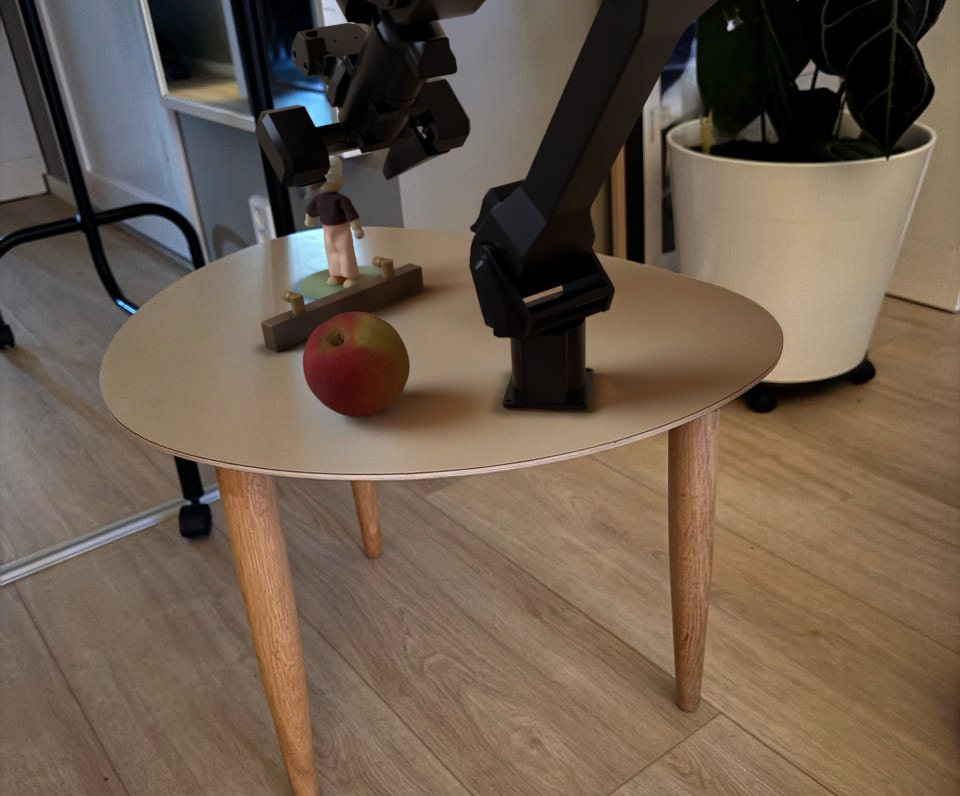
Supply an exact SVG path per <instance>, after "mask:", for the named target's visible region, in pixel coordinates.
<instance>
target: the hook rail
mask: <svg viewBox="0 0 960 796" xmlns="http://www.w3.org/2000/svg"><path fill="white" fill-rule="evenodd" d="M371 264H372V266H374V267H370V266H364V265H358V270H359V274H364V275H365V276H366V277H367V278H368V280H366V281H363V282H361V283H358V284H356V285H353V286H351V287H348V288H345V287H344V286H343V285H344V283H342V284H340V285H335V286H332V285H328V284H327V281H328V279H329V278H330V277H331V275H330V273H329V268H328V269H324V270H320V271H317V272H315V273H312V274H309V275H308V276H307V277H305V278H303V279H302V280H301V281H300V283H299V285H298V288H299V292H295V291H291V290H288V289H286V290H284V291H282V292H281V294H280V297H281V300H283V301H284V302H286V303H289V304H290V307H291V309H289V310H287V311H284V312H282V313H280V314H277V315H275V316H273V317H269V318H267V319H265V320H262V321H260V325H261V330H262V335H263V340H264V345H265V348H267V349H269V350H271V351H274V352H276V353H279V352H281V351H283V350H286V349H288V348H291V347H293V346H295V345H297V344H300V343H303V342H305V341H308V339H309V337H310V335H311V334H312V333H313V331H314V330H315V329H316V328H317V327H318V326H320V325H321V324H323V323H324V322H326V321H327V320H329V319H331V318H332V317H334V316H336V315H338V314H342V313H347V312H366V313H370V314H372V313H373V312H375V311H376V312H377V311H378V310H381V309H383V308H385V307H388V306H391V305H393V304H395V303H397V302H400V301H401V300H404V299H407V298H410V297H411V296H414V295H416V294H419V293H420V292H424V290H425V288H424V278H423V276H424V275H423V268H422V266H421V265H418V264H413V263H410V262H409V263H406V264H403V265H402V266H399V267H397V268H395V265H394V260H393V258H385V257H381V256H378V255H376V256H374V257H372V259H371ZM378 268H379V269H378ZM380 269H381V270H380ZM304 297H307V298H309V299H313V301H310V302H308V303H305V298H304Z"/></svg>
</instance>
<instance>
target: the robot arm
mask: <svg viewBox="0 0 960 796" xmlns="http://www.w3.org/2000/svg"><path fill="white" fill-rule="evenodd" d="M486 1H487V0H335V2H336V4H337V6H338V8H339V10H340V11H341V13H342V15H343V17H344V19H345V21H346V22H344V23H340V24H339V23H337V24H332V25H325V26H318V27H314V28H312V29H305V30H299V31H297V32H296V35H295V38H294V40H293V43H292V47H291V59H292V63H293V65H294V66H295V67H296V69H298V71H299V72H300V73H301V74H302V75H303V76H304V77H305V78H308V79H309V78H314V77H319V78H320V79H321V80H322V81H323V82H324V84H325V85H326V86H327V90H326V93H325V99H326V100H327V102H328V104H329V106H330V108H332V109H333V108H336V109H337V110H338V112H337V122H333V123H328V124H324V125H319V126H316V124H315V123H314V121H313V119H312V117H311V115H310V114H309V112H308V110H307V108H306V106H305V105H301V104H294V105H289V106H284V107H277V108H273V109H267V110H263V111H261V112H260V114H259V116H258V119H257V121H256V126H255V130H254V134H255V136H256V138H257V140H258V142H259V144H260V146H261V148H262V149H263V152H264V153H265V155H266V157H267V159H268V161H269V163H270V166H271V167H272V168H273V170H274V172H275V174H276V176H277V178H278V181H279V182H280V184H282V185H284V186H286V187H287V188H295V191H296V193H297V196H298V198H299V200H300V201H301V202H305V201H307V200H309V199H310V198H311V197H313V195H315V193H316V192H317V191H318V190H319V189H320V187H321V186H322V185H323V184H324V183H325V182H326V181H327V179H326V177H325V175H326V174H328V171H329V169H330V160H329V156H331V155H333V156H337V155H340V154H343V153H348V152H353V151H357V150H359V151H360V153H361V155H364V154H368V153H372V152H373V153H374V152H378V151H382V150H386V149H388V152H387V154H386V157H385V160H384V161H383V162H384V163H383V167H382V175H383V176H384V178H385V180H386V181H391V180H393V179H395V178H397V177H398V176H401V175H403V174H405V173H407V172H409V171H411V170H413V169H415V168H417V167H419V166H421V165H423V164H425V163H428V162H429V161H431V160H434V159H436V158H438V157H440V156H442V155H445V154H448V153H450V151H451V150H454V149H458V148H462V147H463V146H464V144H465V143H466V141H467V139H468V137H469V136H470V133H471V129H472V127H471V119H470V117H469V115H468V114H467V112H466V110H465V108H464V107H463V105H462V103H461V101H460V99H459V97H458V96H457V94H456V91H455V90H454V89H453V87H452V85H451V83H450V82H449V81H448V80H447V78H444V77H446V76H452V75H455V74H457V73H458V64H457V58H456V55H455V54H454V52H453V50H452V48H451V46H450V38H449V37H448V36H447V35H446V32H445V30H444V28H443V27H442V25H441V22H440V21H442V20H449V19H456V18H461V17H462V18H463V17H468V16H469V17H470V16H471V15H474V14H475V13H477V11H478V10H480V8H481V7H482V6H483V5H484V3H485V2H486ZM718 1H719V0H601V1H600V3H599V5H598V8H597V10H596V12H595V15H594V18H593V20H592V22H591V23H590V27H589V29H588V32H587V34H586V36H585V38H584V41H583V43H582V45H581V48H580V50H579V52H578V54H577V57H576V59H575V62H574V64H573V67H572V69H571V71H570V73H569V76H568V78H567V81H566V83H565V85H564V87H563V89H562V92H561V95H560V97H559V99H558V101H557V103H556V106H555V109H554V111H553V113H552V115H551V118H550V120H549V122H548V125H547V127H546V129H545V132H544V134H543V136H542V139H541V141H540V143H539V146H538V149H537V150H536V153H535V155H534V158H533V160H532V162H531V164H530V167H529V169H528V171H527V174H526V175H525V178H523V179H520V180H516V181H511V182H508V183H505V184H501V185H497V186H494V187H490V188H489V189H488V190H487V191H486V192H485V194H484V196H483V198H482V200H481V206H480V209H479V214H478V216H477V218H476V219H475V222H474V223H473V224H472V225H470V227H469V230H470V232H472V233H474V235H473V237H472V240H471V244H470V248H469V263H468V266H469V267H468V268H469V271H470V274H471V277H472V282H473V286H474V291H475V294H476V297H477V301H478V304H479V309H480V312H481V315H482V318H483V322H484V325H485V326H486V327H489V328H491V329H492V335H493V336H494V337H496V338H498V339H509V340H510V341H509V342H510V358H511V359H510V360H511V375H510V377H509V381H508V383H507V386H506V389H505V392H504V396H503V399H502V407H503V408H504V409H508V410H510V409H511V410H514V409H515V410H539V411H541V410H545V411H546V410H548V411H579V412H580V411H585V410H586V411H587V410H588V409H589V405H590V399H591V393H592V387H593V382H594V377H595V376H594V375H595V370H594V369H593V368H592V367H587V350H586V348H587V345H586V343H587V341H586V340H587V339H586V335H587V334H586V333H587V331H586V327H587V326H586V323H587V322H586V321H587V320H586V318H589V317H591V316H593V315H598V314H599V313H606V312H609V311H610V309H611V306H612V302H613V300H614V296H615V293H616V288H615V285H614V284H613V282H612V280H611V278H610V276H609V275H608V273H607V271H606V270H605V268H604V266H603V264H602V263H601V261H600V259H599V257H598V256H597V253H596V251H595V250H594V248H593V246H594V244H595V241H596V236H597V232H596V226H595V223H594V217H593V214H592V213H593V212H592V207H593V204H594V203H595V201H596V199H597V197H598V195H599V193H600V191H601V190H602V187H603V185H604V183H605V182H606V180H607V178H608V176H609V174H610V172H611V170H612V168H613V167H614V165H615V163H616V161H617V159H618V157H619V155H620V153H621V151H622V149H623V148H624V146H625V144H626V142H627V140H628V138H629V136H630V134H631V132H632V130H633V128H634V127H635V125H636V122H637V121H638V119H639V117H640V116H641V113H642V112H643V109H644V107H645V105H646V103H647V102H648V100H649V98H650V96H651V94H652V92H653V91H654V88H655V87H656V84H657V83H658V81H659V79H660V77H661V75H662V74H663V71H664V69H665V67H666V65H667V63H668V62H669V60H670V58H671V56H672V54H673V52H674V50H675V48H676V46H677V44H678V42H679V41H680V39H681V38H682V35H683V34H684V33H685V32H686V30H687V28H688V27H689V26H690V25H691V24H692V23H694V21H696V20H697V19H699V18H700V17H701V16H702V15H703V14H704V13H705V12H707V10H709V9H710V8H711V7H713V6H714V4H716V3H717V2H718ZM361 25H365V26H368V27H367V29H366V30H365V29H364V28H363V27H362V26H361ZM559 287H562V289H561V290H558V291H556V292H552V293H549V294H546V295H544V296H540V297H538V298H534V299H532V300H529V301H526V302H525V300H524V299H527V298H530V297H532V296H535V295H538V294H542V293H545V292H548V291H551V290H553V289H556V288H559Z"/></svg>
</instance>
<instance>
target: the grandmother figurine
mask: <svg viewBox="0 0 960 796" xmlns="http://www.w3.org/2000/svg"><path fill="white" fill-rule="evenodd" d="M329 160H330V169H329V171H328V174H326V175H325V177H326V179H327V181H326V182H325V183H324V184H323V185H322V186H321V187H320V188H319V189H320V190H321V191H322V192H320V193H317V194H315V196H312V198H311V199H310V200H309V202H308V203H307V205H306V207H305V208H304V210H305V220H304V225H305V226H306V227H307V228H309V229H311V228H314V227H315V225H316V219H317V218H318V217H319V222H320V224H321V226H322V230H323V231H322V232H323V243H324V252H325V256H326V261H327V266H328V269H329V273H330V275H331V277H330V278H329V279H328V281H327V284H328V285H332V286H335V285H340V284H342V283H344V285H343V286H344V287H345V288H348V287H351V286H353V285H356V284H358V283H361V282H363V281H366V280H368V278H367V277H366V276H365V275H364V274H359V270H358V266H359V265H358V262H357V256H356V251H355V245H354V238H355V239H356V240H362V239H364V238H365V235H366V233H365V230H364V229H363V225H362V223H361V218H360V215H359V213H358V211H357V209H356V207H355V206H354V204H353V202H352V200H351V198H349V197H348V196H346V195H344V194H342V193H341V192H339V191H340V190H341V189H342V187H343V185H344V176H343V173H342V171H343V163H342V160H341V159H340V156H339V157H338V156H337V155H331V156H329ZM352 231H353V232H352ZM353 237H354V238H353Z"/></svg>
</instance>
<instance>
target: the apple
mask: <svg viewBox="0 0 960 796" xmlns="http://www.w3.org/2000/svg"><path fill="white" fill-rule="evenodd" d="M410 365H411V363H410V355H409V353H408V350H407V347H406V345H405V343H404V340H403V339H402V337H401V336H400V334H399V332H398V331H397V330H396V329H395V328H394V326H393V325H391V324H390V323H389V322H387V321H386V320H385V319H383V318H381V317H379V316H377V315H374V314H372V313H366V312H347V313H342V314H338V315H336V316H334V317H332V318H331V319H329V320H327V321H326V322H324V323H323V324H321V325H320V326H318V327H317V328H316V329H315V330H314V331H313V333H312V334H311V335H310V337H309V339H307V340H306V343H305V347H304V350H303V354H302V368H303V375H304V380H305V382H306V385H307V386H308V389H309V390H310V392H312V394H313V395H314V397H316V399H317V400H318V401H319V402H320V403H321V404H323V405H324V406H325V407H326V408H328V409H330V410H331V411H333V412H335V413H337V414H339V415H342V416H345V417H350V418H364V417H370V416H374V415H376V414H379V413H381V412H382V411H383V410H385V409H386V408H388V406H390V404H392V403H393V402H394V401H395V400H396V399H397V398H398V397H399V396H400V395H401V394H402V392H403V391H404V389H405V387H406V385H407V383H408V380H409V376H410V371H411V366H410Z"/></svg>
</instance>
